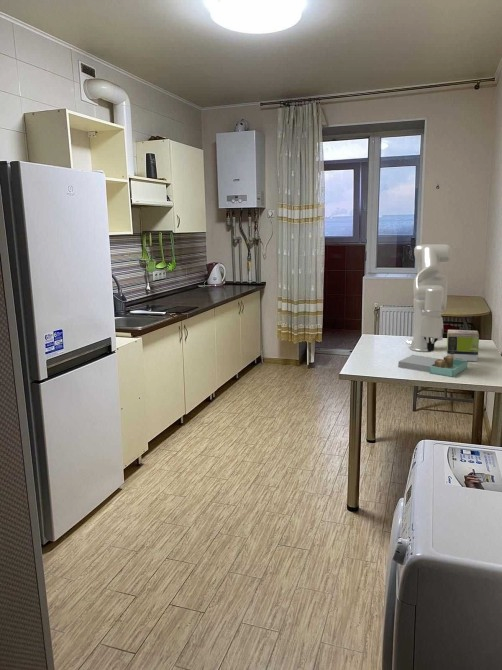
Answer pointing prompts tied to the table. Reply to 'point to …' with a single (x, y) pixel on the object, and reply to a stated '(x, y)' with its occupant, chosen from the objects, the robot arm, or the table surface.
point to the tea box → (463, 344)
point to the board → (417, 363)
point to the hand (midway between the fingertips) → (430, 350)
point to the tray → (450, 369)
